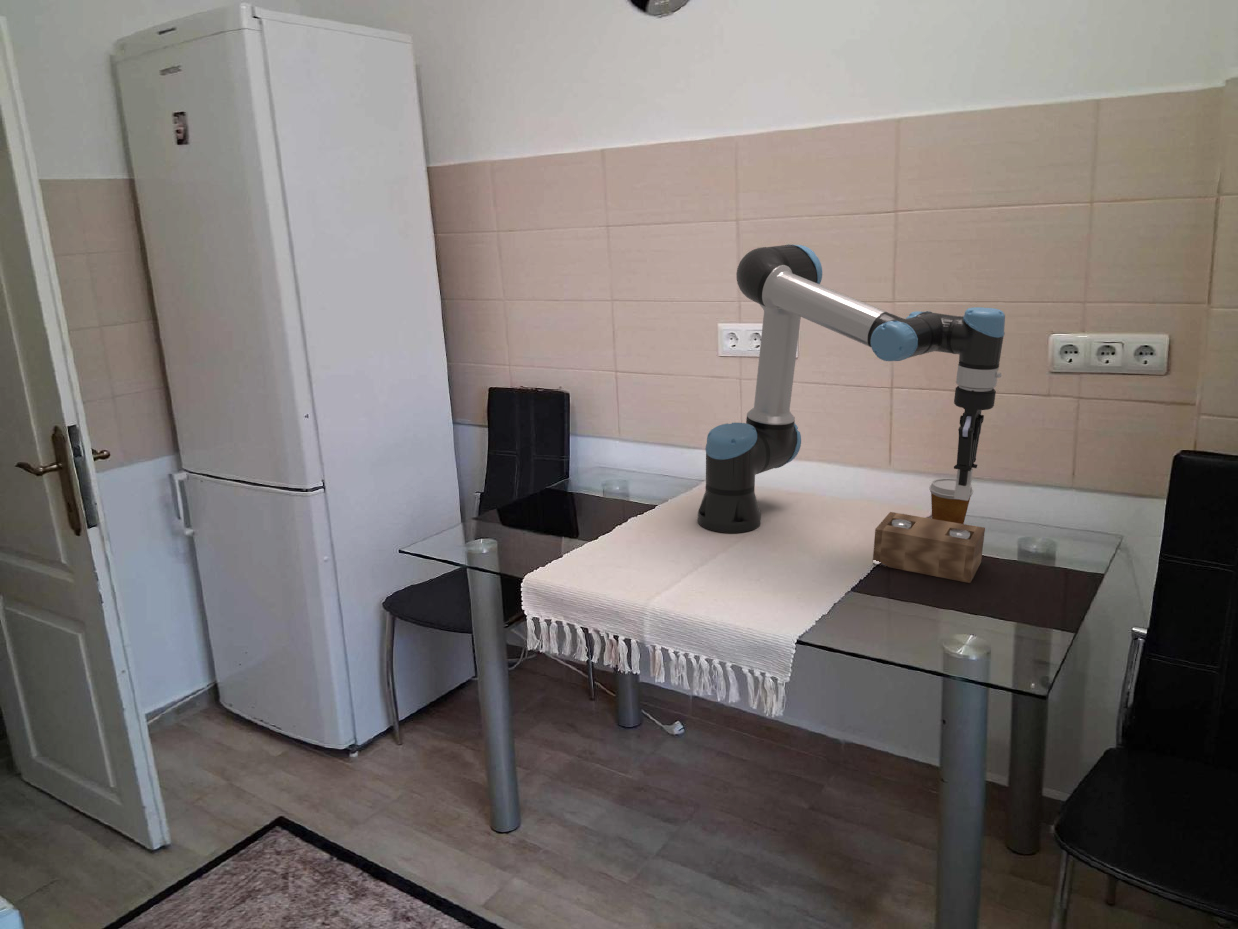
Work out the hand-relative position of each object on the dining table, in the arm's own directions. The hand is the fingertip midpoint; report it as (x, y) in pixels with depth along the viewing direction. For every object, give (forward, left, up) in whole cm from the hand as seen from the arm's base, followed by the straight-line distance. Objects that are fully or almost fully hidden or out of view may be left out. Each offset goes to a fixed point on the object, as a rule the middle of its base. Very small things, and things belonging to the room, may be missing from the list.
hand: (961, 498), depth 188 cm
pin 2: (0, 0, -15) cm, 15 cm away
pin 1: (-12, 0, -15) cm, 19 cm away
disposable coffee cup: (-6, +20, -16) cm, 26 cm away
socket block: (-6, 0, -16) cm, 17 cm away
